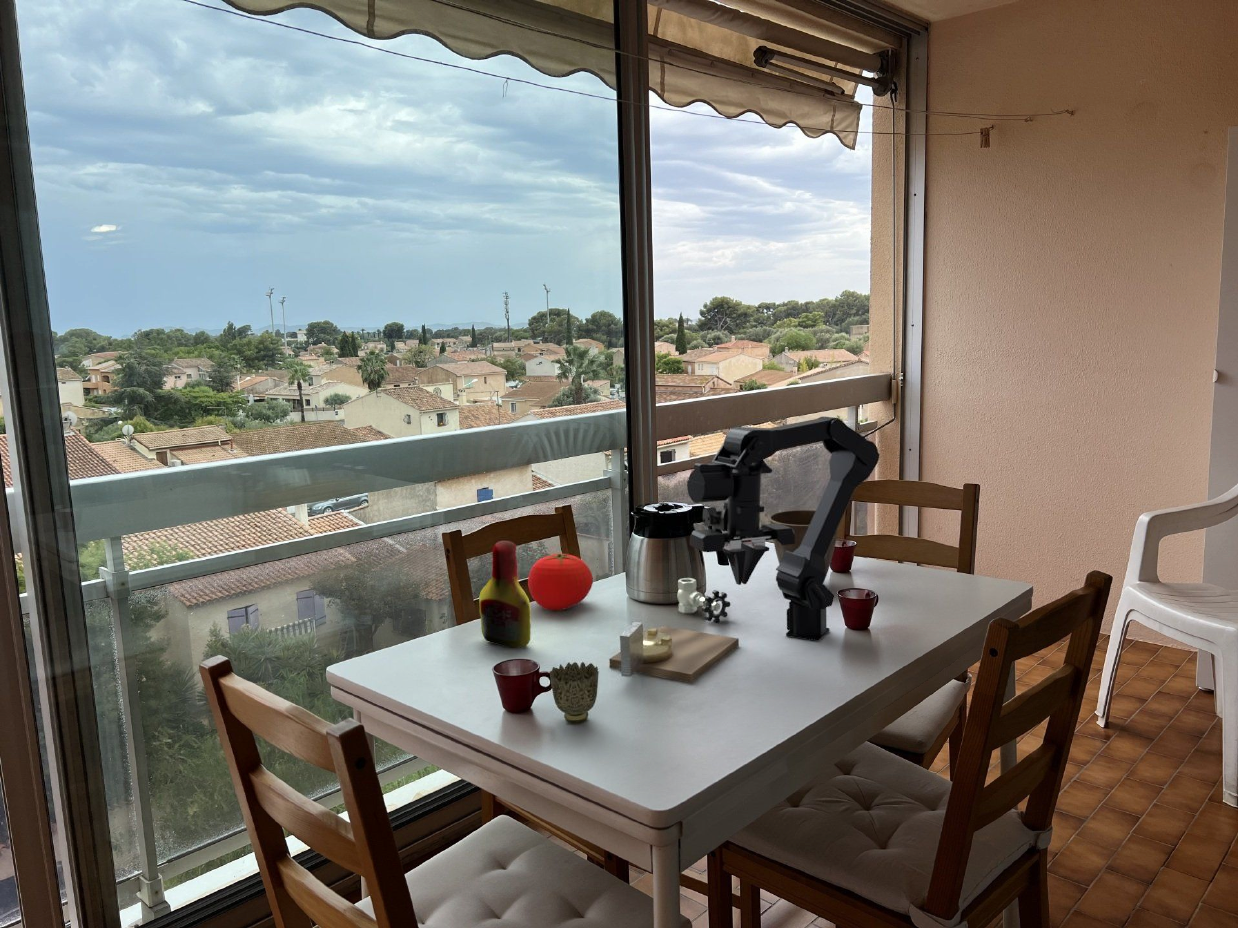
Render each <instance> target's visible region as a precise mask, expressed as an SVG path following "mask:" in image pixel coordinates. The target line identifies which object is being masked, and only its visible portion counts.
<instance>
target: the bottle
mask: <svg viewBox="0 0 1238 928" xmlns="http://www.w3.org/2000/svg"><path fill="white" fill-rule="evenodd" d="M516 553H517V544H516V543H514V542H512V541H510V540H500V541H497V542H496V543H495V544H494V545H493V548H492V553H491V554H492V572H491V578H490V579H489V580H488V582H487V583H486V585H484V586H483V588H481V591H480V593H479V596H478V600H479V601H478V602H479V603H478V605H479V616H480V624H481V628H480V629H481V633H482V636H483V638H484V640H485V641H486V642H488V643H492V644H496V645H499V646H503V647H506V648H512V649H517V648H522V647H525V646H527V645H529V643H530V642H531V634H532V633H531V631H532V630H531V629H532V624H531V619H532V617H531V613H532V610H531V604H530V599H529V597H528V595H527V594H526V592H525V591H524V589H523V587H522V586H521V585H520V583H519V573H518V559H517V554H516Z"/></svg>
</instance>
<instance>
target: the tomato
mask: <svg viewBox="0 0 1238 928" xmlns="http://www.w3.org/2000/svg"><path fill="white" fill-rule="evenodd" d="M593 580H594V578H593V574H592V572H591V570H590V567H589V566H588V565H587V564H586V562H585V561H584V560H582V559H580V558H579V557H577V556H574V555H572V554H569V552H568V553H553V554H549V555H546V556H544V557H542V558H540V559H538V560H537V561H536V562H535V563H534V564H533V565H532V567H531V569H530V570H529V574H528V578H527V585H528V589H529V594H530V595H531V597H532V599H533V600H534V601H535V602H536V604H538V605H539V606H540V607H541V608H543V609H545V610H548V611H562V610H566V609H569V608H572V607H574V606H576V605H578V604H580V603H581V602H582V601H583V600H585V598H586V597H587V596H588V595H589V593H590V591H591V589H592V586H593V582H594V581H593Z"/></svg>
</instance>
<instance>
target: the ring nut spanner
mask: <svg viewBox="0 0 1238 928" xmlns="http://www.w3.org/2000/svg"><path fill="white" fill-rule="evenodd" d="M619 643H620V644H619V645H620V646H619V648H620V649H619V651H620V652H621V669H620V673H621V677H626V678H631V677H633V675H634V674H635V673H637V672H636V671H637V669H638V668H639V667H640V666H641V665H642V664H643V663H651V662H658V661H662V660H665V659H667V658H669V657H670V656H671V655H672V653H673V652H672V638H671V637H670V636H669V635H667V634H664V633H660V632H658V628H655V627H654V628H652V627H651V628H648V629H647V631H644V624H643V622H642V621H641V622H639V621H633V622H632V623H631V624H630V625H629V626H628V627H626V628H625V630H624V631H623V632H622V633H621V634H620V635H619Z"/></svg>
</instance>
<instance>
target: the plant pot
mask: <svg viewBox="0 0 1238 928" xmlns="http://www.w3.org/2000/svg"><path fill="white" fill-rule="evenodd" d="M815 512H816V509H815V510H813V509H812V510H811V509H795V510H794V509H793V510H784V511H780V512H776V513H773V514H772V515H770V516H769V522H770V523H769V524H776V523H779V524H782V525H784V526H787V527H790V528H792V529H793V531H794V533H795V543H794V544H789V545H780V544H779V543H778V542H777V541H776V540H777V539H774V540H772V541H773V545H774V551H775V553H776V557H777V560H778V566H779V565H780V563H781V560H782V557H783V554H784V553H785V551H789V552H792V553H793V552H794V551H795V550H796V549H798V548H799V547H800V545H801V543H802V541H803V538H804V536H805V534H806V532H807V529H808V527H809V525H810V523H811V521H812V518H813V516H814V514H815ZM838 530H839V527H838V528H837V531H836V533H835V535H834V537H833V540H832V542H831V544H830V546H829V549H828V551H827V553H826V556H825V569H826V575H825V579H824V582H825V580H826V578H827V575H828V573H829V570H830V566H831V564H832V559H833V556H834V553H835V552H834V551H835V547H836V542H837V538H838V537H837V536H838V533H839V532H838ZM824 582H823V584H825V583H824Z"/></svg>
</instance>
